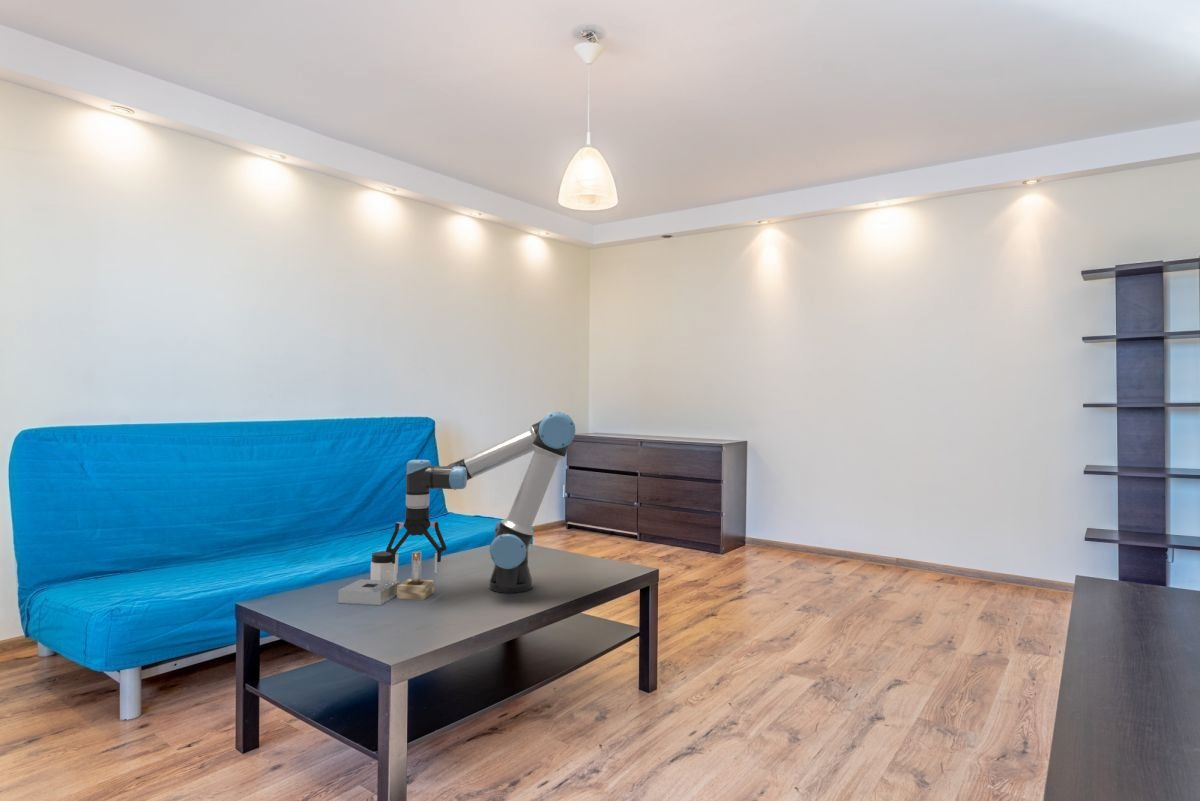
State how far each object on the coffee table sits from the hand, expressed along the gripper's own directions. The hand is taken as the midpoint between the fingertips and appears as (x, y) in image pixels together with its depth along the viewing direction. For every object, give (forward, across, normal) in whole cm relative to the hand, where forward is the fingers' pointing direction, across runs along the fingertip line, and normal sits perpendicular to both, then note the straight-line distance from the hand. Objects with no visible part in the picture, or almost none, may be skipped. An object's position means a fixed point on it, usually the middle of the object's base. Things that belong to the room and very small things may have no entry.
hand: (416, 572), depth 221 cm
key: (+7, 0, 0) cm, 7 cm away
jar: (+9, +12, -15) cm, 21 cm away
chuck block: (+8, +14, +1) cm, 17 cm away
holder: (+8, 0, 0) cm, 8 cm away
